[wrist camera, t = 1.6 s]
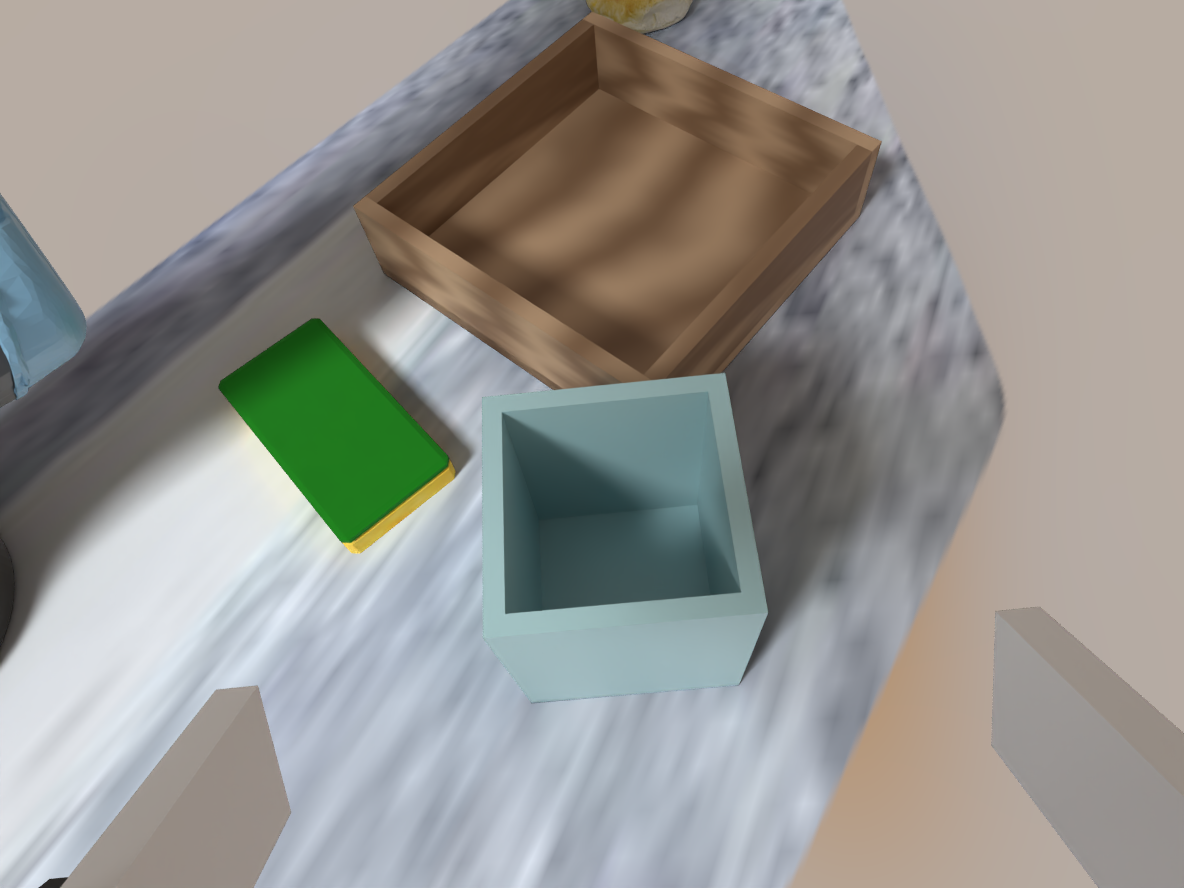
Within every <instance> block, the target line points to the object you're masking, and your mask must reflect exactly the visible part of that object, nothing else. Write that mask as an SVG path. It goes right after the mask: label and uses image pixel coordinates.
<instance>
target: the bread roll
mask: <svg viewBox="0 0 1184 888" xmlns="http://www.w3.org/2000/svg"><path fill="white" fill-rule="evenodd" d="M692 1H693V0H586V2H587V5H588V7H589V9H590V10H591V11H592V12H594V13H597V14H599V15H601V16H603V17H606V18H608V19H610V20H612V21H615V22H617V23H619V24H621V25H623V26H626V27H628V28H630V29H632V30H635V31H637V32H639V33H641V34H645V33H649V32H652V31H656V30H660V29H664V28H666V27H669V26H671V25H673V24H675V23H677V22H679V21H680V20H682V19H683V18H684V17H685V15H686V14H687V12H688V9H689V7H690V5H691V3H692Z"/></svg>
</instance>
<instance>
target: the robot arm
mask: <svg viewBox="0 0 1184 888" xmlns="http://www.w3.org/2000/svg"><path fill="white" fill-rule="evenodd" d="M86 327H87V326H86V320H85V317H84V314H83V312H82V310H81V308H80V307H79V305H78V304H77V302H76V300H75V299H74V297H73V296H72V294H71V293H70V291H69V290H68V288H67V287H66V285H65V284H64V282H63V281H62V280H61V278H60V277H59V275H58V274H57V272H56V271H55V269H54V268H53V267H52V265H51V264H50V262H49V261H48V259H47V258H46V257H45V255H44V254H43V252H42V251H41V250H40V248H39V247H38V245H37V244H36V242H35V241H34V240H33V238H32V237H31V235H30V234H29V233H28V231H27V230H26V229H25V227H24V226H23V224H22V223H21V221H20V220H19V219H18V217H17V216H16V215H15V213H14V212H13V210H12V209H11V207H10V206H9V205H8V204H7V202H6V201H5V199H4V198H3V197H2V195H1V194H0V408H1V407H3V406H4V405H6V404H8V403H9V402H11V401H13V400H17V399H19V398H21V397H23V396H24V395H26V394H27V392H28V390H29V387H31V386H32V385H34V384H35V383H37V382H38V381H39V380H41V379H42V378H44V377H45V376H47V375H48V374H49V373H51V372H52V371H54V370H55V369H57V368H58V367H60V366H61V365H62V364H64V363H65V362H67V361H68V360H70V359H71V358H72V357H74V356H75V355H76V353H77V352H78V351H79V350H80V348H81V345H82V343H83V342H84V340H85V337H86ZM13 599H14V574H13V567H12V563H11V559H10V556H9V553H8V551H7V548H6V546H5V544H4V543H3V541H2V539H1V538H0V645H1V643H2V641H3V638H4V636H5V633H6V630H7V627H8V623H9V620H10V616H11V611H12V606H13ZM993 677H994V678H993V710H992V742H991V743H992V744H991V745H992V747H993V748H994V749H995V751H996V752H997V754H998V755H999V756H1000V758H1001V759H1002V760H1003V761H1004V763H1005V764H1006V766H1007V767H1008V768H1009V770H1010V771H1011V772H1012V773H1013V775H1014V776H1015V777H1016V779H1017V780H1018V782H1019V783H1020V784H1021V785H1022V787H1023V788H1024V790H1025V791H1026V792H1027V793H1028V795H1029V796H1030V797H1031V799H1032V800H1033V801H1034V803H1035V804H1036V805H1037V807H1038V808H1039V809H1040V811H1041V812H1042V813H1043V815H1044V816H1045V817H1046V819H1047V820H1048V821H1049V823H1050V824H1051V825H1052V827H1053V828H1054V829H1055V831H1056V832H1057V833H1058V835H1059V836H1060V837H1061V839H1062V840H1063V841H1064V843H1065V844H1066V845H1067V847H1068V848H1069V849H1070V851H1071V852H1072V853H1073V855H1074V856H1075V857H1076V859H1077V860H1078V861H1079V863H1080V864H1081V865H1082V867H1083V868H1084V869H1085V871H1086V872H1087V873H1088V875H1089V876H1090V877H1091V879H1092V880H1093V881H1094V883H1095V884H1096V885H1097V887H1098V888H1184V733H1183V732H1182V731H1181V730H1180V729H1179V728H1177V727H1176V726H1175V725H1174V724H1173V723H1172V722H1170V721H1169V720H1168V719H1167V718H1166V717H1165V716H1164V715H1163V714H1161V713H1160V712H1159V711H1158V710H1157V709H1156V708H1155V707H1153V706H1152V705H1151V704H1150V703H1149V702H1148V701H1147V700H1146V699H1144V698H1143V697H1142V696H1141V695H1140V694H1139V693H1138V692H1136V691H1135V690H1134V689H1133V688H1132V687H1131V686H1130V685H1128V684H1127V683H1126V682H1125V681H1124V680H1123V679H1122V678H1120V677H1119V676H1118V675H1117V674H1116V673H1115V672H1114V671H1113V670H1111V669H1110V668H1109V667H1108V666H1107V665H1106V664H1105V663H1103V662H1102V661H1101V660H1100V659H1099V658H1098V657H1097V656H1095V655H1094V654H1093V653H1092V652H1091V651H1090V650H1089V649H1087V648H1086V647H1085V646H1084V645H1083V644H1082V643H1081V642H1080V641H1078V640H1077V639H1076V638H1075V637H1074V636H1073V635H1072V634H1070V633H1069V632H1068V631H1067V630H1066V629H1065V628H1064V627H1062V626H1061V625H1060V624H1059V623H1058V622H1057V621H1056V620H1054V619H1053V618H1052V617H1051V616H1050V615H1049V614H1048V613H1046V612H1045V611H1044V610H1043V609H1042V608H1041V607H1032V608H1022V609H1013V610H1002V611H996V613H995V644H994V676H993ZM290 814H291V810H290V806H289V802H288V798H287V795H286V791H285V787H284V783H283V779H282V776H281V772H280V768H279V764H278V760H277V757H276V753H275V749H274V745H273V741H272V738H271V734H270V730H269V726H268V722H267V719H266V715H265V711H264V707H263V703H262V699H261V696H260V692H259V688H258V686H249V687H239V688H229V689H219V690H216V691H215V692H214V693H213V694H212V696H211V697H210V698H209V699H208V701H207V702H206V703H205V705H204V706H203V707H202V708H201V710H200V711H199V712H198V713H197V715H196V716H195V717H194V719H193V720H192V721H191V722H190V724H189V725H188V726H187V727H186V729H185V730H184V731H183V732H182V734H181V735H180V736H179V738H178V739H177V740H176V741H175V743H174V744H173V745H172V746H171V748H170V749H169V750H168V752H167V753H166V754H165V755H164V757H163V758H162V759H161V760H160V762H159V763H158V764H157V765H156V767H155V768H154V769H153V771H152V772H151V773H150V774H149V776H148V777H147V778H146V779H145V781H144V782H143V783H142V785H141V786H140V787H139V788H138V790H137V791H136V792H135V793H134V795H133V796H132V797H131V798H130V800H129V801H128V802H127V804H126V805H125V806H124V807H123V809H122V810H121V811H120V812H119V814H118V815H117V816H116V817H115V819H114V820H113V821H112V823H111V824H110V825H109V826H108V828H107V829H106V830H105V831H104V833H103V834H102V835H101V837H100V838H99V839H98V840H97V842H96V843H95V844H94V845H93V847H92V848H91V849H90V850H89V852H88V853H87V854H86V856H85V857H84V858H83V859H82V861H81V862H80V863H79V864H78V866H77V867H76V868H75V870H74V871H73V872H72V873H71V875H70V876H69V877H66V878H55V879H49V880H48V881H47V882H45V883H44V884H43V885H42V886H40V887H39V888H254V886H255V884H256V882H257V880H258V878H259V876H260V874H261V872H262V870H263V868H264V866H265V864H266V862H267V860H268V858H269V856H270V854H271V852H272V850H273V848H274V846H275V844H276V842H277V840H278V838H279V836H280V834H281V832H282V830H283V828H284V826H285V824H286V822H287V820H288V818H289V816H290Z"/></svg>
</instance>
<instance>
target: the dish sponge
mask: <svg viewBox="0 0 1184 888" xmlns="http://www.w3.org/2000/svg"><path fill="white" fill-rule="evenodd" d="M218 388H219V390H220V391H221V392H222V393H223V395H224V396H225V397H226V398H227V400H228V401H229V402H230V403H231V405H232V406H233V407H234V408H235V410H236V411H237V412H238V413H239V415H240V416H241V417H242V418H243V420H244V421H245V422H246V423H247V425H248V426H249V427H250V429H251V430H252V431H253V432H254V434H255V435H256V436H257V437H258V439H259V440H260V441H261V442H262V444H263V445H264V446H265V447H266V449H267V450H268V451H269V452H270V454H271V455H272V456H273V457H274V459H275V460H276V461H277V462H278V464H279V465H280V466H281V467H282V469H283V470H284V471H285V472H286V474H287V475H288V476H289V477H290V479H291V480H292V481H293V482H294V484H295V485H296V486H297V487H298V489H299V490H300V491H301V492H302V494H303V495H304V496H305V497H306V499H307V500H308V501H309V503H310V504H311V505H312V506H313V508H314V509H315V510H316V511H317V513H318V514H319V515H320V516H321V518H322V519H323V520H324V521H325V523H326V524H327V525H328V526H329V528H330V529H331V530H332V531H333V533H334V534H335V535H336V536H337V538H338V539H339V540H340V541H341V542H342V543H343V544H344V545H345V546H346V548H347V549H348V550H349V551H350V552H351V553H362V552H363V551H364V550H365V549H367V548H368V547H369V546H370V545H372V544H373V543H374V542H375V541H377V540H378V539H379V538H381V537H382V536H383V535H384V534H386V533H387V532H388V531H389V530H391V529H392V528H393V527H394V526H396V525H397V524H398V523H399V522H401V521H402V520H403V519H404V518H406V517H407V516H408V515H409V514H411V513H412V512H413V511H414V510H416V509H417V508H418V507H419V506H421V505H422V504H423V503H425V502H426V501H427V500H428V499H430V498H431V497H432V496H433V495H435V494H436V493H437V492H438V491H440V490H441V489H442V488H443V487H445V486H446V485H447V484H448V483H450V482H451V481H452V480H453V479H454V478H455V469H454V467H453V465H452V463H451V461H450V460H449V457H448V455H447V454H446V453H445V452H444V451H443V450H442V449H441V448H440V447H439V446H438V445H437V444H436V443H435V442H434V440H433V439H432V438H431V437H430V436H429V435H428V434H427V433H426V432H425V431H424V430H423V429H422V428H421V427H420V425H419V424H418V423H417V422H416V421H415V420H414V419H413V418H412V417H411V416H410V415H409V414H408V413H407V412H406V411H405V409H404V408H403V407H402V406H401V405H400V404H399V403H398V402H397V401H396V400H395V399H394V398H393V397H392V396H391V394H390V393H389V392H388V391H387V390H386V389H385V388H384V387H383V386H382V385H381V384H380V383H379V382H378V381H377V379H376V378H375V377H374V376H373V375H372V374H371V373H370V372H369V371H368V370H367V369H366V368H365V367H364V366H363V365H362V363H361V362H360V361H359V360H358V359H357V358H356V357H355V356H354V355H353V354H352V353H351V352H350V351H349V350H348V348H347V347H346V346H345V345H344V344H343V343H342V342H341V341H340V340H339V339H338V338H337V337H336V336H335V335H334V334H333V332H332V331H331V330H330V329H329V328H328V327H327V326H326V325H325V324H324V323H323V322H322V321H321V320H320V319H310V320H309V321H308V322H306V323H305V324H303V325H302V326H300V327H299V328H297V329H296V330H294V331H293V332H291V333H290V334H288V335H287V336H286V337H284V338H283V339H281V340H280V341H278V342H277V343H275V344H274V345H272V346H271V347H269V348H268V349H267V350H265V351H264V352H262V353H261V354H259V355H258V356H256V357H255V358H253V359H252V360H250V361H249V362H247V363H246V364H245V365H243V366H242V367H240V368H239V369H237V370H236V371H234V372H233V373H231V374H230V375H228V376H227V377H225V378H224V379H223V380H221V381H220V384H219V387H218Z"/></svg>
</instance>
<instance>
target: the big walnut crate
mask: <svg viewBox="0 0 1184 888" xmlns="http://www.w3.org/2000/svg"><path fill="white" fill-rule="evenodd" d="M881 142H882V141H879V140H877V139H875V138H873V137H870V136H868V135H866V134H864V133H861V132H859V131H857V130H855V129H853V128H850V127H848V126H846V125H844V124H841V123H839V122H837V121H835V120H833V119H830V118H828V117H826V116H824V115H821V114H819V113H817V112H815V111H813V110H810V109H808V108H806V107H804V106H801V105H799V104H797V103H795V102H793V101H790V100H788V99H786V98H784V97H781V96H779V95H777V94H775V93H772V92H770V91H768V90H766V89H764V88H761V87H759V86H757V85H755V84H752V83H750V82H748V81H746V80H744V79H741V78H739V77H737V76H735V75H732V74H730V73H728V72H726V71H724V70H721V69H719V68H717V67H715V66H712V65H710V64H708V63H706V62H704V61H701V60H699V59H697V58H695V57H692V56H690V55H688V54H686V53H683V52H681V51H679V50H677V49H675V48H672V47H670V46H668V45H666V44H663V43H661V42H659V41H657V40H655V39H652V38H650V37H648V36H646V35H643V34H641V33H639V32H637V31H635V30H632V29H630V28H628V27H626V26H623V25H621V24H619V23H617V22H615V21H612V20H610V19H608V18H606V17H603V16H601V15H599V14H597V13H594V12H591V13H590V14H588V15H587V16H586V17H585V18H583V19H582V20H581V21H580V22H578V23H577V24H576V25H575V26H574V27H572V28H571V29H570V30H569V31H567V32H566V33H565V34H564V35H563V36H561V37H560V38H559V39H558V40H556V41H555V42H554V43H553V44H551V45H550V46H549V47H548V48H547V49H545V50H544V51H543V52H542V53H540V54H539V55H538V56H537V57H535V58H534V59H533V60H532V61H531V62H529V63H528V64H527V65H526V66H524V67H523V68H522V69H521V70H520V71H518V72H517V73H516V74H515V75H513V76H512V77H511V78H510V79H508V80H507V81H506V82H505V83H504V84H502V85H501V86H500V87H499V88H497V89H496V90H495V91H494V92H493V93H491V94H490V95H489V96H488V97H486V98H485V99H484V100H483V101H481V102H480V103H479V104H478V105H477V106H475V107H474V108H473V109H472V110H470V111H469V112H468V113H467V114H466V115H464V116H463V117H462V118H461V119H459V120H458V121H457V122H456V123H454V124H453V125H452V126H451V127H450V128H448V129H447V130H446V131H445V132H443V133H442V134H441V135H440V136H438V137H437V138H436V139H435V140H434V141H432V142H431V143H430V144H429V145H427V146H426V147H425V148H424V149H423V150H421V151H420V152H419V153H418V154H416V155H415V156H414V157H413V158H411V159H410V160H409V161H408V162H407V163H405V164H404V165H403V166H402V167H400V168H399V169H398V170H397V171H396V172H394V173H393V174H392V175H391V176H389V177H388V178H387V179H386V180H384V181H383V182H382V183H381V184H380V185H378V186H377V187H376V188H375V189H373V190H372V191H371V192H370V193H369V194H367V195H366V196H365V197H364V198H362V199H361V200H360V201H359V202H357V203H356V204H355V205H354V206H353V207H354V209H355V211H356V214H357V216H358V218H359V220H360V222H361V225H362V227H363V229H364V231H365V233H366V235H367V238H368V240H369V242H370V244H371V246H372V248H373V251H374V253H375V255H376V257H377V259H378V261H379V264H380V266H381V268H382V270H383V272H384V274H386V275H387V276H388V277H390V278H391V279H393V280H394V281H396V282H397V283H399V284H400V285H402V286H403V287H404V288H406V289H407V290H409V291H410V292H412V293H413V294H415V295H416V296H418V297H419V298H420V299H422V300H423V301H425V302H426V303H428V304H429V305H431V306H432V307H434V308H435V309H436V310H438V311H439V312H441V313H442V314H444V315H445V316H447V317H448V318H450V319H451V320H452V321H454V322H455V323H457V324H458V325H460V326H461V327H463V328H464V329H466V330H467V331H468V332H470V333H471V334H473V335H474V336H476V337H477V338H479V339H480V340H482V341H483V342H484V343H486V344H487V345H489V346H490V347H492V348H493V349H495V350H496V351H497V352H499V353H500V354H502V355H503V356H505V357H506V358H508V359H509V360H511V361H512V362H513V363H515V364H516V365H518V366H519V367H521V368H522V369H524V370H525V371H527V372H528V373H529V374H531V375H532V376H534V377H535V378H537V379H538V380H540V381H541V382H543V383H544V384H545V385H547V386H548V387H550V388H551V389H553V390H560V389H570V388H580V387H590V386H600V385H610V384H620V383H630V382H640V381H649V380H659V379H669V378H679V377H689V376H699V375H709V374H719V373H722V372H723V370H724V369H725V368H726V367H727V366H728V365H729V364H730V362H731V361H732V360H733V359H734V358H735V357H736V356H737V355H738V353H739V352H740V351H741V350H742V349H743V348H744V347H745V345H746V344H747V343H748V342H749V341H750V340H751V339H752V338H753V336H754V335H755V334H756V333H757V332H758V331H759V330H760V328H761V327H762V326H763V325H764V324H765V323H766V322H767V321H768V319H769V318H770V317H771V316H772V315H773V314H774V313H775V311H776V310H777V309H778V308H779V307H780V306H781V305H782V304H783V302H784V301H785V300H786V299H787V298H788V297H789V296H790V294H791V293H792V292H793V291H794V290H795V289H796V288H797V287H798V285H799V284H800V283H801V282H802V281H803V280H804V279H805V277H806V276H807V275H808V274H809V273H810V272H811V271H812V270H813V268H814V267H815V266H816V265H817V264H818V263H819V262H820V260H821V259H822V258H823V257H824V256H825V255H826V254H827V253H828V251H829V250H830V249H831V248H832V247H833V246H834V245H835V243H836V242H837V241H838V240H839V239H840V238H841V237H842V236H843V234H844V233H845V232H846V231H847V230H848V229H849V228H850V226H851V225H852V224H853V223H854V222H855V221H856V220H857V219H858V217H859V216H860V212H861V209H862V206H863V202H864V199H865V196H866V192H867V189H868V186H869V182H870V179H871V175H872V172H873V169H874V165H875V162H876V159H877V155H878V152H879V149H880V145H881Z"/></svg>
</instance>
